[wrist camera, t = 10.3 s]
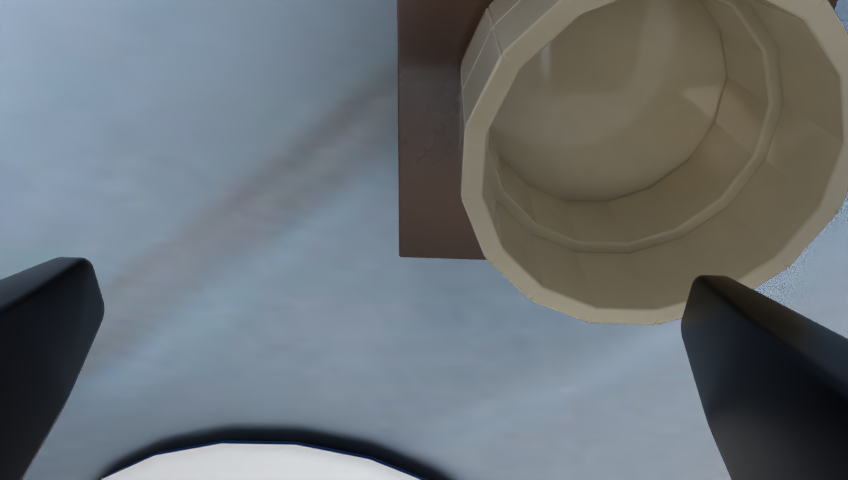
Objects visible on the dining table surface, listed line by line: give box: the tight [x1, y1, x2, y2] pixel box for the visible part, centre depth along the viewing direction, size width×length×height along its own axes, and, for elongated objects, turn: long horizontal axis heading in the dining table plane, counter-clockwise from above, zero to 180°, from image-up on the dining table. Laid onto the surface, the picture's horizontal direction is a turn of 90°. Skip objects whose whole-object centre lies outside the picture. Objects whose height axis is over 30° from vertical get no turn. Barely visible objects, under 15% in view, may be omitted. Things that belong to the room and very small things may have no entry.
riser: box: [397, 0, 838, 260], centre depth 17 cm, size 10×10×4 cm
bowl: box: [458, 0, 848, 325], centre depth 13 cm, size 7×7×5 cm
